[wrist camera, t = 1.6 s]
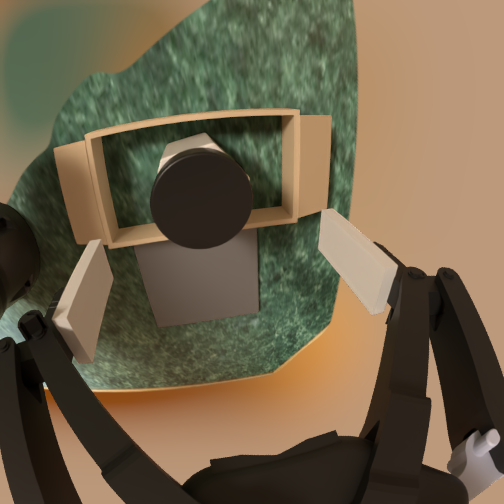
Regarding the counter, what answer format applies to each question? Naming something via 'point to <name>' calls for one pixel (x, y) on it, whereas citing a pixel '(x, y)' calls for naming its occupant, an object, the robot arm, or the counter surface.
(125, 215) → the counter surface
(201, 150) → the jar
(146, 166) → the counter surface
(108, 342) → the counter surface
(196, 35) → the counter surface
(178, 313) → the mat
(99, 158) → the carton
